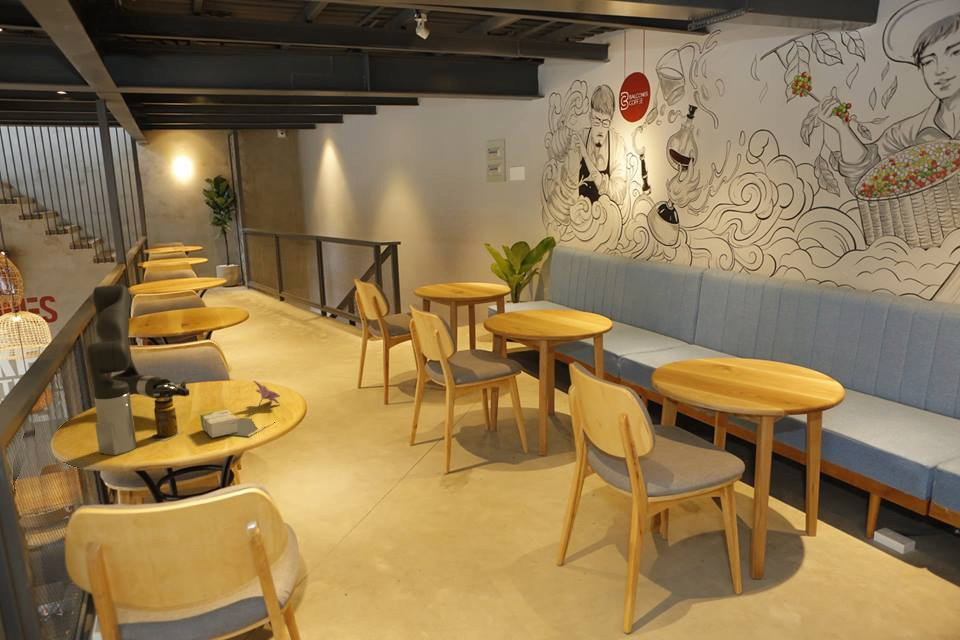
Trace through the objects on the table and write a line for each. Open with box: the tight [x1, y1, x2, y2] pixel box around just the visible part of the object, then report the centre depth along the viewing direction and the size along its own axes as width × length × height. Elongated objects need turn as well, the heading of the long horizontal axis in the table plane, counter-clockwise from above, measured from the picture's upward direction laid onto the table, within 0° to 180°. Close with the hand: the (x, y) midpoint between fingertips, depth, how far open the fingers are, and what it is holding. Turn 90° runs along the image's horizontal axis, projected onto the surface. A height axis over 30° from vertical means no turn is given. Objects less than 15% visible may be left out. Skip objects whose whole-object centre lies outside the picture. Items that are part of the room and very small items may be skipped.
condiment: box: [146, 397, 185, 442], centre depth 209 cm, size 7×8×12 cm
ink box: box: [200, 409, 239, 438], centre depth 211 cm, size 9×5×12 cm
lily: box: [252, 380, 281, 409], centre depth 235 cm, size 12×12×10 cm
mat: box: [226, 417, 266, 438], centre depth 214 cm, size 14×14×1 cm
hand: (187, 392), depth 222 cm, fingers closed
